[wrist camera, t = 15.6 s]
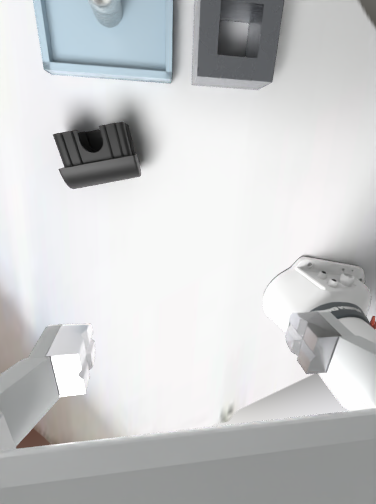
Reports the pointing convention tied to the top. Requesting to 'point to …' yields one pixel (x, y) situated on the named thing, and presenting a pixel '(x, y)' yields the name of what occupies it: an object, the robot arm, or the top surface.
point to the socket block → (258, 43)
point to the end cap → (97, 156)
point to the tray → (106, 40)
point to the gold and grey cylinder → (107, 11)
